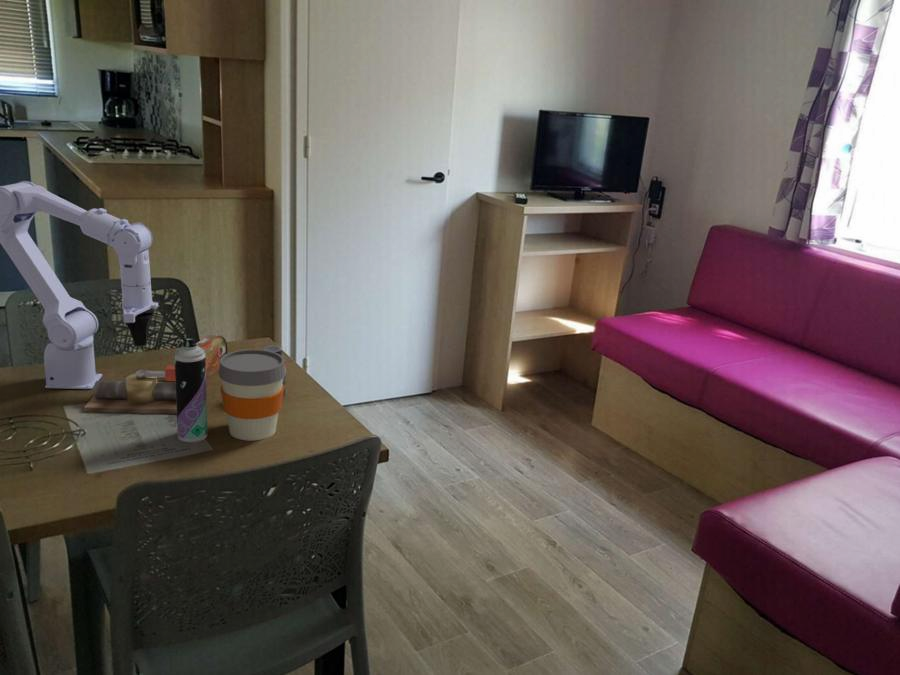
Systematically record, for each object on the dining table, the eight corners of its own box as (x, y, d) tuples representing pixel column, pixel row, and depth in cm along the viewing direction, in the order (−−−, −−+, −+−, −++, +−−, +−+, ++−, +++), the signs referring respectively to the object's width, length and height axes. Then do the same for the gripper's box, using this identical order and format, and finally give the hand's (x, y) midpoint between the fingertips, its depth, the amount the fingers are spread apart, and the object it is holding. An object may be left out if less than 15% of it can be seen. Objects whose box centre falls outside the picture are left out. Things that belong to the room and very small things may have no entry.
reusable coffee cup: (211, 423, 153) (209, 354, 148) (270, 412, 160) (270, 345, 156) (233, 450, 144) (232, 376, 139) (295, 436, 151) (296, 366, 146)
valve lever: (134, 380, 157) (134, 368, 156) (137, 375, 159) (136, 364, 158) (187, 381, 158) (187, 369, 158) (189, 377, 160) (189, 365, 160)
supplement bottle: (251, 397, 167) (251, 348, 163) (269, 388, 172) (269, 341, 168) (273, 404, 164) (273, 355, 161) (291, 395, 170) (291, 347, 166)
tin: (194, 386, 170) (193, 351, 167) (182, 384, 171) (180, 349, 168) (229, 364, 184) (228, 331, 181) (217, 362, 185) (216, 329, 182)
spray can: (180, 444, 144) (176, 345, 138) (175, 432, 149) (171, 335, 142) (210, 440, 147) (207, 342, 140) (204, 428, 151) (201, 333, 145)
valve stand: (84, 411, 154) (82, 386, 152) (99, 392, 163) (98, 367, 161) (187, 413, 157) (186, 388, 155) (196, 394, 166) (195, 370, 164)
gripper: (147, 293, 152) (152, 356, 157) (164, 274, 166) (168, 334, 170) (110, 292, 151) (116, 356, 156) (130, 274, 165) (135, 333, 169)
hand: (140, 344), depth 163 cm, fingers closed
